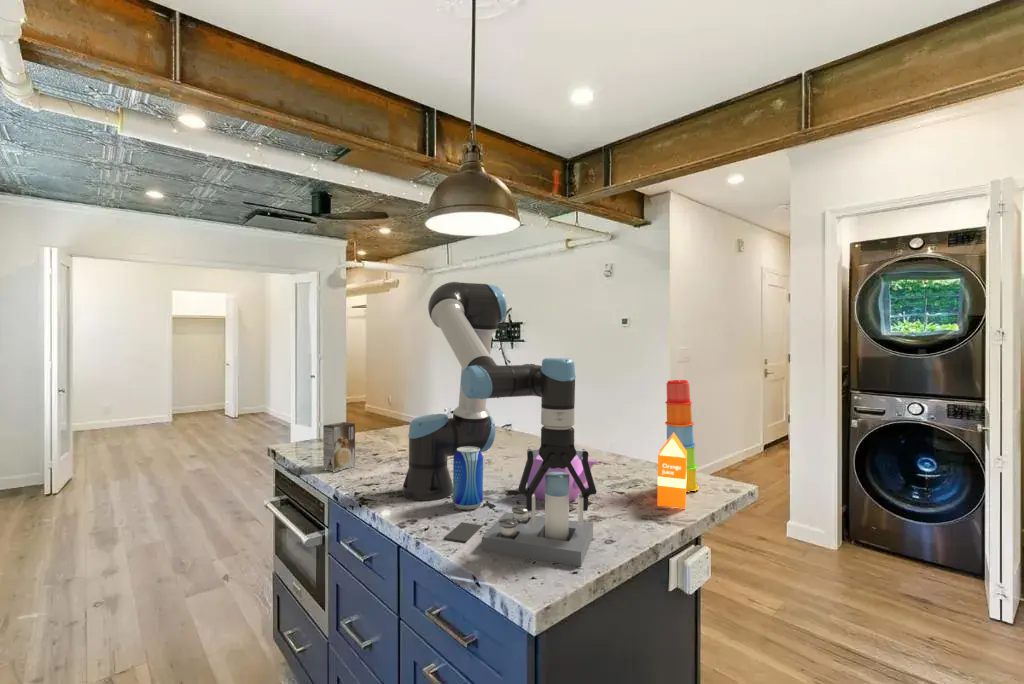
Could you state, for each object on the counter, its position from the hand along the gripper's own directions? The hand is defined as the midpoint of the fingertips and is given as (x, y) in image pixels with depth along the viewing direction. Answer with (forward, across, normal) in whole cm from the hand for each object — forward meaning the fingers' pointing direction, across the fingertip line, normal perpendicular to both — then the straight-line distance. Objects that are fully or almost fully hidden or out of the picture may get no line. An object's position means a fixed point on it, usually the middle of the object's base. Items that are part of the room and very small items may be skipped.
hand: (556, 524), depth 107 cm
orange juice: (+6, +37, +30) cm, 48 cm away
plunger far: (+3, -8, +8) cm, 12 cm away
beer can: (+5, -22, +28) cm, 36 cm away
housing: (+5, -4, +1) cm, 7 cm away
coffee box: (+5, -71, +66) cm, 97 cm away
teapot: (+6, +6, +37) cm, 38 cm away
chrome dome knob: (+3, -11, -1) cm, 11 cm away
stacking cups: (+5, +46, +44) cm, 63 cm away
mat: (+5, -20, +8) cm, 22 cm away
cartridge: (+5, 0, 0) cm, 5 cm away
